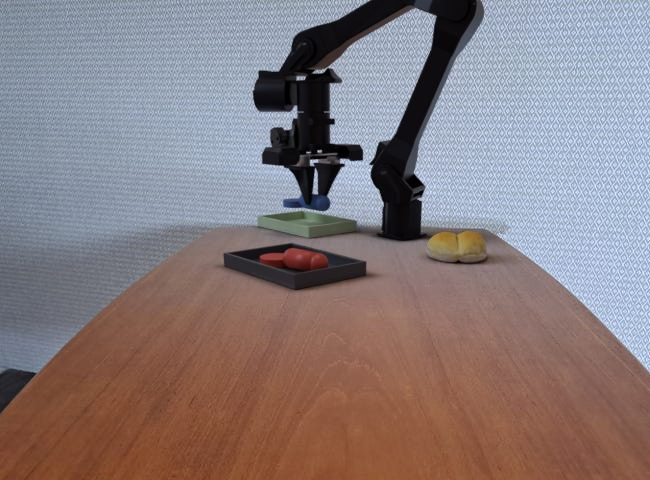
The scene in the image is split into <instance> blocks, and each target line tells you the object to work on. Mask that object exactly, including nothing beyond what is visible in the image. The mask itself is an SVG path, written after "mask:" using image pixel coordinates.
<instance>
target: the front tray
mask: <svg viewBox="0 0 650 480" xmlns="http://www.w3.org/2000/svg"><path fill="white" fill-rule="evenodd" d="M290 248H296V249H301V250H306V251H311V252H316V253H321V254H323V255H325V256H326V257H327V259H328V263H329V265H328V268H323V269H317V270H312V271H306V272H304V271H300V270H295V269H291V268H288V267H285V268H275V267H272V266H269V265H265V264H262V263H260V256H261V255H264V254H270V253H285V251H286V250H288V249H290ZM222 256H223V267H225V268H229V269H232V270H235V271H237V272H241V273H244V274H246V275H250V276H253V277H255V278H259V279H261V280H265V281H267V282H270V283H274V284H277V285H280V286H283V287H285V288H289V289H291V290H299V289H300V290H301V289H304V288H309V287H310V288H311V287H314V286H319V285H320V286H321V285H325V284H329V283H334V282H339V281H340V282H341V281H344V280H349V279H354V278H360V277H363V276H367V261H366V260H362V259H358V258H354V257H350V256H346V255H342V254H339V253H335V252H330V251H326V250H322V249H318V248H316V247H311V246H306V245H302V244H298V243H295V242H287V243H281V244H274V245H268V246H261V247H255V248H246V249H240V250H235V251H228V252H223V253H222Z"/></svg>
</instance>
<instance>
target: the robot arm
mask: <svg viewBox="0 0 650 480" xmlns="http://www.w3.org/2000/svg"><path fill="white" fill-rule="evenodd" d="M415 9H416V10H419V11H422V12H425V13H427V14H430V15H432V16H435V20H434V25H433V32H432V39H431V46H430V50H429V53H428V55H427V57H426V60H425V62H424V65H423V67H422V69H421V72H420V73H419V76H418V78H417V81H416V83H415V86H414V89H413V90H412V93H411V95H410V97H409V100H408V102H407V105H406V107H405V109H404V113H403V115H402V117H401V119H400V122H399V124H398V126H397V129H396V132H395V133H394V134H393V136H392V138H391V139H387V140H381V141H379V142H378V144H377V147H376V150H375V154H374V157H373V158H372V160H371V161H370V162H369V164H368V166H371V169H370V174H369V175H370V176H369V177H370V179H371V182H372V184H373V186H374V187H375V188H376V189H377V190H378V192H379V195H380V198H381V201H382V203H383V207H382V209H381V210H382V211H381V212H382V214H381V231H376V234H375V235H376V236H380V237H385V238H390V239H394V240H399V241H404V240H410V239H416V238H423V237H427V236H428V233H427V232H424V231H422V213H423V212H422V210H423V200H420V199H422V198H423V197H424V196H423V195H424V193H425V190H426V185H425V184H424V182H422V181H421V179H420V178H419V177H418V176H417V175H416V174H415V170H416V167H417V163H418V158H419V157H418V155H419V150H420V149H419V147H420V142H421V140H422V137H423V136H424V133H425V130H426V128H427V126H428V124H429V121H430V119H431V117H432V114H433V112H434V110H435V107H436V106H437V103H438V101H439V98H440V96H441V94H442V92H443V90H444V87H445V85H446V82H447V80H448V79H449V76H450V74H451V71H452V69H453V67H454V64H455V62H456V60H457V59H458V57H459V55H460V54H461V53H462V52H463V50H464V49H465V48H466V47H467V45H468V44H469V43H470V42H471V40H472V38H473V37H474V36H475V34H476V32H477V31H478V29H479V27H480V26H481V24H482V22H483V20H484V16H485V7H484V4H483V1H482V0H368V1H366V2H365V3H363V4H362V5H360V6H358V7H356V8H355V9H353V10H352V11H350V12H347V14H345V15H343V16H341V17H340V18H338V19H335V20H333V21H330V22H325V23H321V24H317V25H315V26H311V27H309V28H306V29H303V30H301V31H299V32H298V33H296V34H295V35H294V36H293V38H292V42H291V46H290V51H289V53H288V55H287V57H286V58H285V60H284V62H283V63H282V65H281V67H280V68H279V70H277V71H276V70H275V71H273V70H263V69H260V70H258V71H257V75H258V78H257V79H256V80H255V83H254V87H253V90H252V100H253V104H254V106H255V108H256V110H257V111H258V112H260V113H291V112H292V111H293V110H294V108H295V107H296V118H295V117H293V118H292V121H291V128H290V129H285V128H284V127H283V126H274V127H272V128H271V129H270V130H269V132H270V133H269V141H270V146H265V147H264V149H263V151H262V153H261V164H262V165H267V166H277V167H283V168H284V169H288V170H289V171H290V173H292V175H293V176H294V179H295V181H296V182H297V185H298V188H299V191H300V195H302V196H303V199H304V202H305V204H306V205H311V200H312V194H314V193H313V192H314V182H315V174H317V194H318V195H324V196H327V197H328V195H329V194H330V191H331V189H332V186H333V184H334V182H335V180H336V178H337V177H338V175H339V173H340V171H341V169H343V168H345V167H346V164H345V163H341V160H349V162H361V161H364V148H363V147H362V146H361V144H360V143H359V144H357V143H356V144H355V143H335V142H334V143H333V142H331V126H335V125H336V118H331V85H335V84H338V85H339V84H342V83H343V79H342V78H341V77H340V76H339V75H338V74H337V73H336V72H335V70H334V68H331V67H330V66H331V65H332V64H333V63H335V62H336V61H337V60H338V59H339V58H341V57H342V56H343V54H344V53H345V52H346V51H347V50H348V49H349V47H351V46H352V45H353V44H354V43H356V42H358V41H359V40H361V39H363V38H365V37H366V36H367V37H368V35H370V34H371V33H372V34H373V32H375V31H377V30H379V29H381V28H382V27H384V26H386V25H388V24H389V23H392V22H393V21H395V20H396V19H398V18H400V17H401V16H403V15H405V14H407V13H408V12H411V11H412V10H415ZM322 70H324V71H323V72H316V71H322ZM298 77H303V78H304V77H305V78H304V79H297V78H298ZM313 160H314V161H315V160H317V162H313V165H311V161H313Z"/></svg>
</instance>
